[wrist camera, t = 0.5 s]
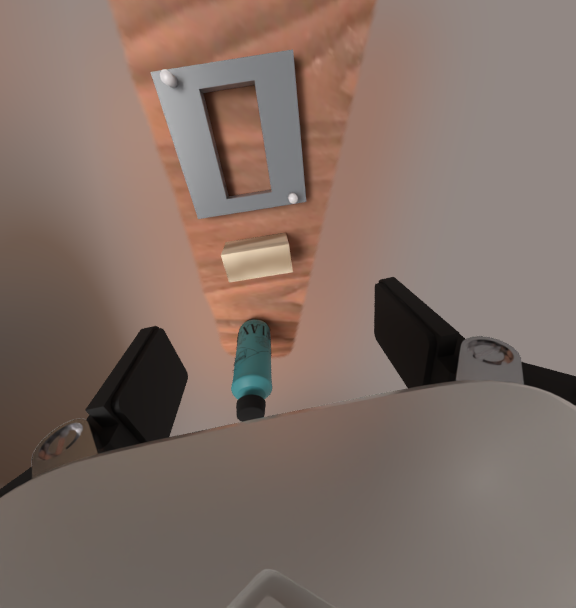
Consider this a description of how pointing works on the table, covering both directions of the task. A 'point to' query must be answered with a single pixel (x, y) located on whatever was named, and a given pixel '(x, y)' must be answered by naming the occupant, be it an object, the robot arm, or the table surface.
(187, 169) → the slot board
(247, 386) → the beverage bottle
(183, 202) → the table surface
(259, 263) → the key block
